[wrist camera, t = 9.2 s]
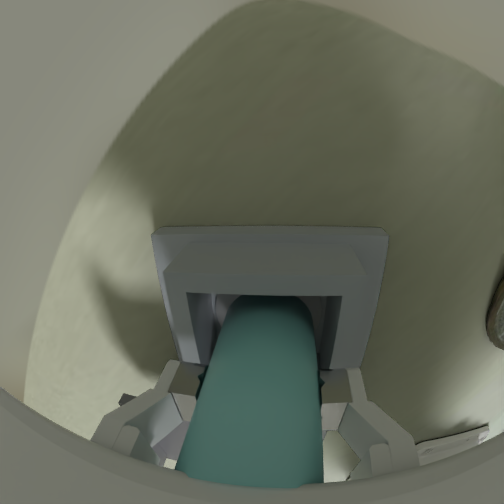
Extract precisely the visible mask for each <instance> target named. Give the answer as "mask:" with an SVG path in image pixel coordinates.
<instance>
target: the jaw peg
mask: <svg viewBox="0 0 504 504" xmlns="http://www.w3.org/2000/svg"><path fill="white" fill-rule="evenodd" d="M174 470H178V471H182V472H184V473H186V474H187V476H188V477H190V478H195V479H200V480H205V481H211V482H217V483H224V484H231V485H240V486H250V487H264V488H298V487H300V486H301V485H304V484H313V483H324V471H323V440H322V420H321V406H320V390H319V379H318V366H317V356H316V345H315V336H314V327H313V319H312V315H311V312H310V310H309V308H308V307H307V306H306V304H305V303H304V302H303V301H302V300H301V299H299V298H298V297H296V296H275V295H241V296H239V297H238V298H237V299H235V300H234V301H233V302H232V304H231V305H230V306H229V308H228V310H227V313H226V316H225V319H224V322H223V325H222V328H221V331H220V334H219V337H218V340H217V343H216V346H215V349H214V352H213V355H212V358H211V360H210V363H209V366H208V369H207V372H206V375H205V378H204V381H203V384H202V387H201V390H200V393H199V396H198V399H197V402H196V406H195V409H194V412H193V415H192V418H191V421H190V424H189V427H188V430H187V433H186V436H185V439H184V442H183V445H182V448H181V451H180V454H179V457H178V460H177V463H176V466H175V469H174Z"/></svg>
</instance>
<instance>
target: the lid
mask: <svg viewBox="0 0 504 504" xmlns="http://www.w3.org/2000/svg"><path fill="white" fill-rule="evenodd" d="M487 334H488V337H489V339H490V341H491V342H492V343H493V344H494V345H495V346H496V347H498V348H500V349H502V350H504V277H503V279H502V280H501V282H500V284H499V286H498V288H497V291H496V293H495V295H494V298H493V301H492V304H491V306H490V309H489V313H488V318H487Z"/></svg>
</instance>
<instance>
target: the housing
mask: <svg viewBox="0 0 504 504" xmlns="http://www.w3.org/2000/svg"><path fill="white" fill-rule="evenodd" d="M151 238H152V244H153V250H154V256H155V261H156V266H157V271H158V276H159V281H160V286H161V291H162V295H163V300H164V304H165V308H166V313H167V317H168V321H169V325H170V329H171V333H172V336H173V340H174V344H175V347H176V351H177V354H178V358H179V361H185V362H191V363H198V364H205V365H209V363H210V360H211V358H212V355H213V352H214V349H215V346H216V343H217V340H218V337H219V334H220V331H221V328H222V325H223V322H224V319H225V316H226V313H227V310H228V308H229V306H230V305H231V304H232V302H233V301H234V300H235V299H237V298H238V297H239V296H241V295H275V296H296V297H298V298H299V299H301V300H302V301H303V302H304V303H305V304H306V306H307V307H308V308H309V310H310V312H311V315H312V319H313V327H314V336H315V345H316V356H317V366H318V370H319V369H338V368H356V367H359V368H360V367H361V363H362V360H363V357H364V354H365V350H366V347H367V343H368V339H369V336H370V332H371V328H372V324H373V320H374V316H375V312H376V308H377V303H378V299H379V294H380V289H381V284H382V279H383V273H384V268H385V262H386V256H387V249H388V242H389V235H388V234H387V233H386V232H385V231H384V230H383V229H382V228H376V227H337V226H188V227H161V228H159V229H158V230H157V231H155V232H154V233H153V234H151ZM327 431H331V430H322V440H324V438H325V435H326V432H327Z"/></svg>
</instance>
